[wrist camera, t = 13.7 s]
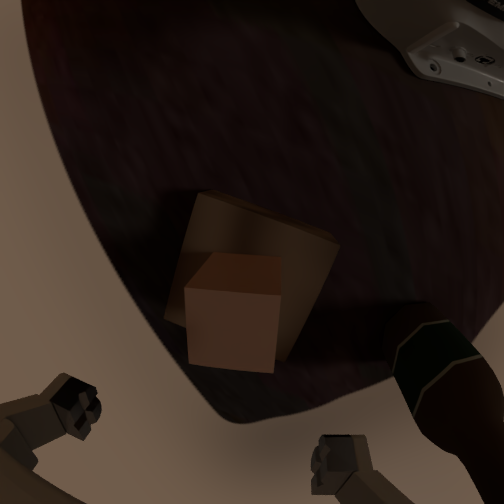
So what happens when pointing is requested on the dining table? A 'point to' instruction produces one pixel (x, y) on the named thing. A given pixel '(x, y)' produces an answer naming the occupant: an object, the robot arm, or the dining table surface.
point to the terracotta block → (234, 312)
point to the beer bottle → (449, 392)
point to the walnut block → (256, 243)
